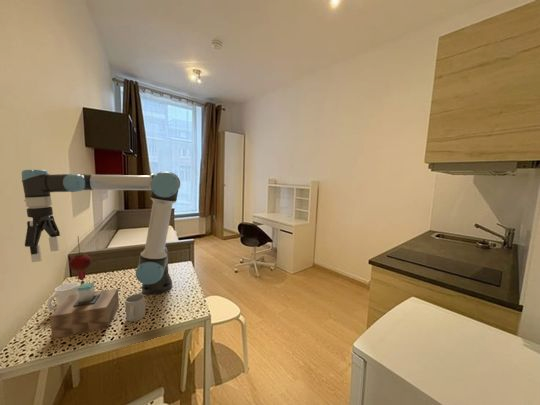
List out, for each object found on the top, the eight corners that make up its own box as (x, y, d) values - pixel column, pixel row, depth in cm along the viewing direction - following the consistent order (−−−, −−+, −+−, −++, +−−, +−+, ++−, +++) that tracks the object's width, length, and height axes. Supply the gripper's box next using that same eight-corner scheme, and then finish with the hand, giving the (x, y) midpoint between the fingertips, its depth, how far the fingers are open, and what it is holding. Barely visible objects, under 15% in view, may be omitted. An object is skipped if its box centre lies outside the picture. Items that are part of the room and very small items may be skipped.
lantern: (66, 292, 119) (61, 237, 116) (84, 284, 128) (79, 232, 125) (81, 294, 117) (76, 238, 114) (98, 285, 127) (93, 233, 123)
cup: (147, 311, 103) (146, 292, 102) (141, 324, 94) (139, 304, 93) (129, 313, 102) (128, 294, 100) (121, 327, 92) (119, 307, 91)
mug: (54, 318, 97) (51, 296, 96) (42, 314, 100) (40, 292, 99) (84, 304, 108) (82, 283, 107) (73, 300, 111) (71, 281, 110)
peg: (95, 301, 98) (94, 282, 97) (91, 307, 94) (90, 286, 93) (83, 303, 96) (82, 283, 95) (79, 309, 93) (77, 288, 92)
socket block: (119, 306, 107) (117, 287, 106) (108, 327, 92) (106, 305, 91) (71, 314, 100) (69, 294, 99) (52, 338, 85) (49, 314, 84)
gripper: (44, 204, 104) (51, 248, 107) (5, 212, 81) (14, 268, 84) (65, 203, 107) (70, 246, 109) (32, 210, 84) (40, 265, 86)
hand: (46, 255), depth 97 cm, fingers open, 13 cm apart
